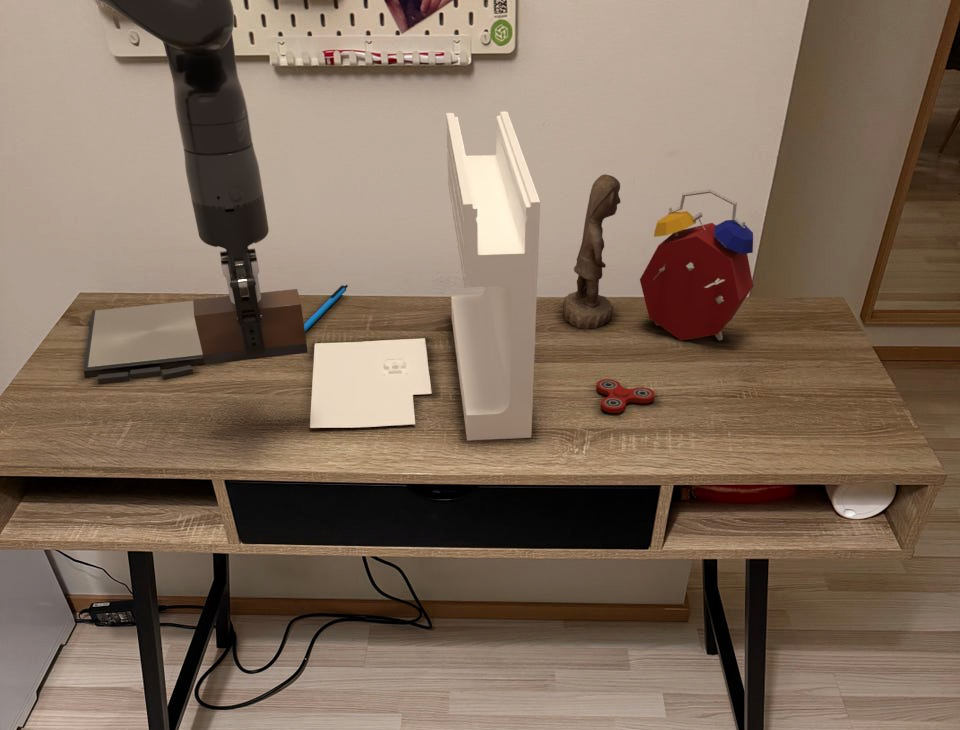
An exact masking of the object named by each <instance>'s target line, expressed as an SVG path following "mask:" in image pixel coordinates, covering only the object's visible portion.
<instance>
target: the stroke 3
mask: <svg viewBox="0 0 960 730" xmlns="http://www.w3.org/2000/svg"><path fill="white" fill-rule="evenodd" d="M193 374H194V370H193V367H192V366H191V365H188V366H183V367H175V368H167V369H162V370H161V376H162V378H163V380H168V379H173V378H174V379H175V378H178V377H183V376H188V375H193Z"/></svg>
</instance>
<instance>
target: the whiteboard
mask: <svg viewBox="0 0 960 730" xmlns="http://www.w3.org/2000/svg"><path fill="white" fill-rule="evenodd" d="M188 365H191V367H192V366H201V365H205V362H204V358H203V353H202V349H201V345H200V340H199V336H198V331H197V327H196V322H195V318H194V307H193V300H183V301H182V300H181V301H173V302H164V303H153V304H143V305H133V306H123V307H114V308H103V309H94V310H91V315H90V322H89V330H88V336H87V344H86V351H85V358H84V365H83V374H84V377H85V378H92V377H98V375H102V374H112V373H122V372H129V374H130V370H135V369H144V368H153V367H160V368H161V370H167V369H173V368H178V367H183V366H188Z"/></svg>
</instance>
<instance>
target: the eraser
mask: <svg viewBox="0 0 960 730" xmlns="http://www.w3.org/2000/svg"><path fill="white" fill-rule="evenodd" d="M260 293H261V300H260V301H259V302H258V307H259V313H260V315H261V317H262V321H261V330H262V336H263V341H264V347H265V351H264V353H262V354H254V355H248V354H247V353H246V350H245V345H244V340H243V334H242V329H241V326H239V323H237V317H238V316H237V311H236V306H235V304H233V303H232V302H231V300H230V295H228V296H218V297H217V296H215V297H208V298H207V297H205V298H198V299H197V298H196V299H192V301H193V307H194V318H195V322H196V327H197V331H198V336H199V340H200V345H201V349H202V353H203V358H204V362H205V364H204V365H205V366H207V365H208V366H209V365H218V364H226V363H234V362H241V361H250V360H251V361H252V360H258V359H269V358H276V357H285V356H293V355H303V354H308V353H309V349H308V344H307V343H308V342H307V335H306V332H305V328H304V324H305V321H304V314H303V308H302V302H301V299H300V295H299V294H300V293H299V290H298V289H297V288H292V289H284V290H274V291H273V290H272V291H264V292H263V291H262V292H260ZM241 312H242V313H250V312H255V310H254V309H246V310H242V311H241Z"/></svg>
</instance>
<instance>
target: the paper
mask: <svg viewBox="0 0 960 730" xmlns="http://www.w3.org/2000/svg"><path fill="white" fill-rule="evenodd" d="M311 386H312V387H311V398H310V400H311V403H310V418H309V420H310V421H309V428H310V429H320V428H322V429H324V428H325V429H326V428H330V429H331V428H335V429H337V428H338V429H339V428H342V429H343V428H351V429H352V428H353V429H354V428H372V427H373V428H374V427H375V428H376V427H388V426H390V427H391V426H392V427H393V426H408V425H410V426H411V425H416V418H415V417H416V416H415V407H414V406H415V405H414V395H431V394H432V386H431V377H430V369H429V361H428V352H427V343H426V338H425V337H424V338H421V337H420V338H403V339H385V340H363V341H347V342H346V341H345V342H320V343H316V342H315V343H314V350H313V366H312V384H311Z"/></svg>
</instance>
